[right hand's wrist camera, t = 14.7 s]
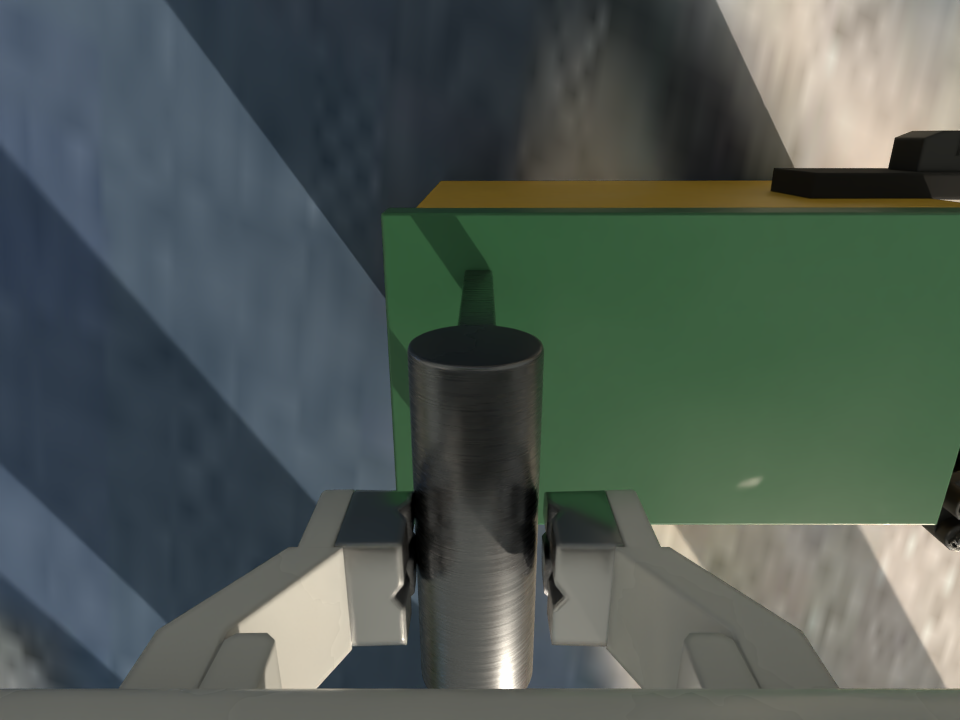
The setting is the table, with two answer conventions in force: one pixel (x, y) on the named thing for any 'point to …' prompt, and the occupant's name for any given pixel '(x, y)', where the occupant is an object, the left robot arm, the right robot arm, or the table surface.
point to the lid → (656, 385)
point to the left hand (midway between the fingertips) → (766, 330)
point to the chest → (637, 195)
